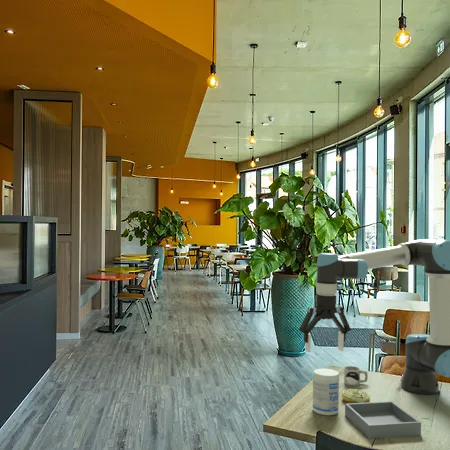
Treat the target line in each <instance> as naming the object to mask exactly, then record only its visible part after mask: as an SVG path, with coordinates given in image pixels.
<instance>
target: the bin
mask: <svg viewBox="0 0 450 450" xmlns="http://www.w3.org/2000/svg"><path fill="white" fill-rule="evenodd" d="M344 405H345V406H344V416H345V417H346V418H347V419H348V420H349V421H350V422H351V423H352V424H353V425H354V426H356V427H357V429H358V430H360V431H361V432H362V434H363V435H365V437H367V439H369V440H370V439H383V438H385V439H386V438H398V437H399V438H400V437H411V436H413V437H414V436H416V437H417V436H421V435H422V422H421V421H420V420H419V419H417V418H416V417H414V416H413V415H412V414H410V413H409V412H407V411H406V410H405V409H404V408H402V407H401V406H400V405H398V404H397V403H395V402H394V401H391V400H390V401H387V400H386V401H373V402H371V401H370V402H368V403H344Z"/></svg>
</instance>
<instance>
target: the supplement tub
mask: <svg viewBox="0 0 450 450" xmlns="http://www.w3.org/2000/svg"><path fill="white" fill-rule="evenodd" d="M339 375H340V373H339V372H338V371H337V370H334V369H330V368H316V369H315V370H313V376H312V410H313V411H314V413H316V414H318V415H322V416H334V415H336V414H338V412H339V400H340V399H339V398H340V397H339V395H340V394H339V393H340V392H339V390H340V376H339Z"/></svg>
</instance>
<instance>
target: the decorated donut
mask: <svg viewBox="0 0 450 450" xmlns="http://www.w3.org/2000/svg"><path fill="white" fill-rule="evenodd" d="M341 398H342V399H343V401H344V402H345V403H346V404H349V403H368V402H371V399H370V398H371V395H370V394H369V393H368V392H366V391H364V390H361V389H357V388H348V389H345V390H343V391H342V393H341Z"/></svg>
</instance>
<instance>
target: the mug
mask: <svg viewBox="0 0 450 450" xmlns="http://www.w3.org/2000/svg"><path fill="white" fill-rule="evenodd" d="M343 369H344V372H343V374H344V375H343V376H344V377H343V380H344V381H343V384H345V385H346V386H350V387H358V386H360V385H361V383H366V382H368V376H369V375H368V371H365V370H361V369H360V368H359V367H357V366H352V365H349V366H348V365H347V366H344V368H343ZM361 374H364V375H365V376H364V379H361Z"/></svg>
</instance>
